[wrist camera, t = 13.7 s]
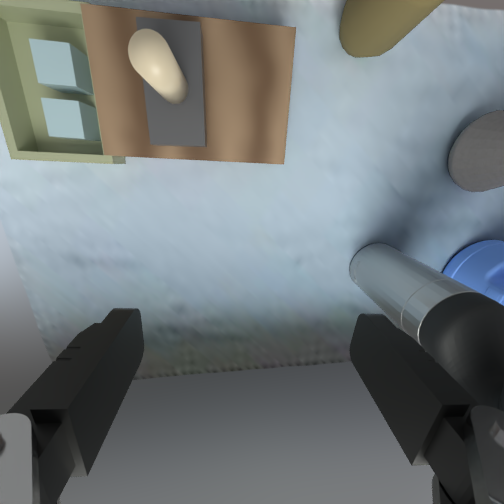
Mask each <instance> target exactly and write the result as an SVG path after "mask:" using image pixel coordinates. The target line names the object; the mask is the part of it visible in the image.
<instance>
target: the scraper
mask: <svg viewBox="0 0 504 504" xmlns="http://www.w3.org/2000/svg"><path fill="white" fill-rule="evenodd" d="M136 25H137V32H135V33H134V34H133V35H132V37H131V39H130V41H129V45H128V54H129V59H130V62H131V64H132V66H133V67H134V69H135V70H136V71H137V72H138V73H139V74H140V75H141V76H142V77H143V85H144V93H145V102H146V111H147V119H148V128H149V137H150V144H151V145H156V146H182V147H207V133H206V107H205V82H204V56H203V34H202V29H201V24H200V22H194V21H181V20H169V19H157V18H145V17H136Z"/></svg>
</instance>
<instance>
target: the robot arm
mask: <svg viewBox="0 0 504 504" xmlns="http://www.w3.org/2000/svg"><path fill="white" fill-rule="evenodd" d="M350 276H351V279H352V280H353V282H354V283H355V284H356V285H357V286H358V287H359V288H360V289H361V290H362V291H363V292H364V293H365V294H366V295H367V296H369V297H370V298H371V299H372V300H373V301H374V302H375V303H376V304H377V305H378V306H379V307H380V308H381V309H382V310H383V311H384V312H385V313H386V314H387V315H388V316H389V317H390V318H391V319H393V320H394V321H395V322H396V323H397V324H398V325H399V326H400V327H401V328H402V329H403V330H404V331H405V332H406V333H407V334H406V333H405V332H403V331H402V330H400V329H398V328H396V327H395V326H394V325H393V323H392V322H391V321H390V320H389V319H388V318H387V317H386V316H385V315H383V314H360V315H359V316H358V319H357V322H356V326H355V330H354V333H353V337H352V340H351V344H350V357H351V360H352V363H353V365H354V366H355V368H356V370H357V372H358V373H359V375H360V377H361V379H362V380H363V382H364V384H365V385H366V387H367V389H368V391H369V392H370V394H371V396H372V398H373V399H374V401H375V403H376V404H377V406H378V408H379V410H380V411H381V413H382V415H383V417H384V418H385V420H386V422H387V424H388V425H389V427H390V429H391V430H392V432H393V434H394V436H395V437H396V439H397V441H398V442H399V444H400V446H401V448H402V449H403V451H404V453H405V454H406V456H407V458H408V460H409V462H410V463H411V465H430V466H431V468H432V469H433V471H434V472H435V474H434V476H433V479H432V497H433V498H432V499H433V504H504V306H503V305H502V304H500V303H498V302H497V301H495V300H493V299H491V298H489V297H487V296H485V295H483V294H481V293H479V292H477V291H476V290H474V289H472V288H470V287H468V286H466V285H464V284H462V283H460V282H458V281H456V280H454V279H452V278H450V277H448V276H446V275H445V274H443V273H441V272H439V271H437V270H435V269H433V268H431V267H429V266H427V265H425V264H424V263H422V262H420V261H418V260H416V259H414V258H412V257H410V256H408V255H406V254H404V253H402V252H401V251H399V250H397V249H395V248H393V247H391V246H389V245H387V244H383V243H375V244H370V245H368V246H366V247H364V248H362V249H361V250H360V251H359V252H358V253H357V254H356V255H355V256H354V258H353V260H352V262H351V265H350ZM425 351H426V352H425ZM143 352H144V340H143V331H142V322H141V314H140V311H139V309H132V308H114V309H112V311H111V312H110V313H109V314H108V315H107V316H106V318H105V319H104V320H103V321H102V323H94V324H93V325H91V326H90V327H88V328H87V329H85V330H84V331H82V332H80V333H79V334H78V335H77V336H76V337H75V338H74V339H73V340H72V342H71V343H70V344H69V345H68V346H67V348H66V350H63V351H62V353H61V354H60V355H59V356H58V357H57V358H56V361H53V362H52V364H51V365H50V366H49V367H48V368H47V369H46V370H45V371H44V373H43V374H42V375H41V376H40V377H39V378H38V379H37V380H36V381H35V382H34V383H33V385H32V386H31V387H30V388H29V389H28V390H27V391H26V392H25V394H24V395H23V396H22V397H21V398H20V399H19V400H18V401H17V403H16V404H14V406H13V407H12V408H11V409H10V410H9V411H8V412H7V413H6V414H3V415H0V504H61V501H60V495H61V493H62V491H63V489H64V487H65V485H66V483H67V481H68V479H69V478H70V477H79V476H80V477H81V476H88V474H89V472H90V470H91V468H92V465H93V463H94V461H95V459H96V457H97V455H98V452H99V450H100V448H101V446H102V444H103V442H104V440H105V438H106V436H107V433H108V431H109V429H110V427H111V425H112V423H113V420H114V418H115V416H116V414H117V412H118V410H119V407H120V406H121V403H122V401H123V399H124V397H125V395H126V393H127V390H128V389H129V386H130V384H131V382H132V380H133V378H134V376H135V374H136V371H137V369H138V367H139V365H140V363H141V360H142V357H143Z"/></svg>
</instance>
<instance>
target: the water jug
mask: <svg viewBox="0 0 504 504" xmlns="http://www.w3.org/2000/svg"><path fill="white" fill-rule="evenodd" d="M443 274H445V275H446V276H448V277H450V278H452V279H454V280H456V281H458V282H460V283H462V284H464V285H466V286H468V287H470V288H472V289H474V290H476V291H477V292H479V293H481V294H483V295H485V296H487V297H489V298H491V299H493V300H495V301H497V302H498V303H500V304H502V305H503V306H504V241H500V240H486V241H481V242H478V243H475V244H472V245H470V246H468V247H467V248H465V249H463V250H462V251H461V252H459V253H458V254H457V255H456V256H455V257H454V258H453V259H452V260H451V261H450V262H449V263H448V265H447V266H446V268H445V269H444V271H443Z"/></svg>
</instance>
